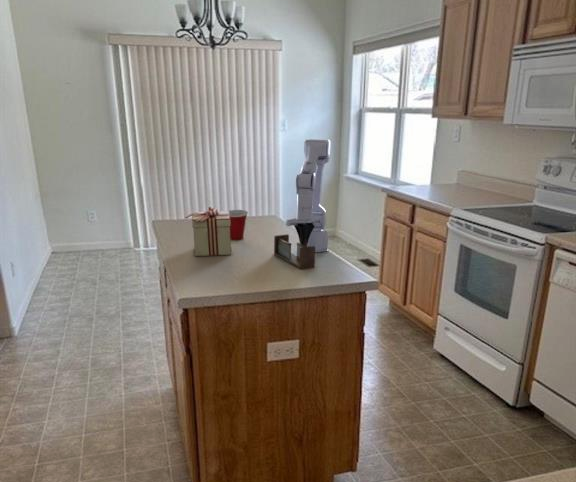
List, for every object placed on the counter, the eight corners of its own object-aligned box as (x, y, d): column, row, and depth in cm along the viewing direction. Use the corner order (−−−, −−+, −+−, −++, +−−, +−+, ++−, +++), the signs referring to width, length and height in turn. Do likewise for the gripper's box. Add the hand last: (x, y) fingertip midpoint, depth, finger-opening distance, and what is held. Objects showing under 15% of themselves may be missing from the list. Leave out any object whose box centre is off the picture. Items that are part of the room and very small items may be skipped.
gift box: (185, 247, 223) (183, 206, 217) (229, 246, 227) (228, 205, 221) (187, 258, 208) (185, 214, 201) (234, 256, 212) (233, 213, 205)
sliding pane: (298, 257, 208) (299, 235, 204) (310, 263, 200) (311, 241, 197) (296, 258, 207) (296, 236, 204) (308, 264, 200) (308, 241, 196)
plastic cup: (219, 239, 237) (219, 212, 232) (231, 234, 246) (230, 208, 242) (241, 242, 233) (241, 215, 229) (252, 237, 242) (252, 210, 238)
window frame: (287, 253, 218) (287, 234, 215) (314, 267, 200) (315, 246, 197) (274, 255, 215) (274, 235, 212) (300, 269, 197) (301, 248, 194)
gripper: (292, 210, 189) (291, 247, 194) (327, 207, 196) (325, 243, 201) (283, 207, 195) (282, 243, 200) (317, 204, 202) (316, 239, 207)
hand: (303, 243), depth 201 cm, fingers closed on sliding pane
